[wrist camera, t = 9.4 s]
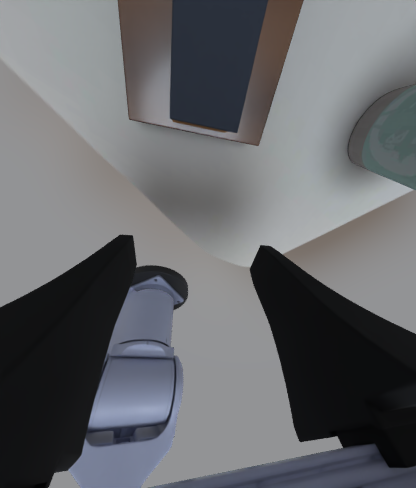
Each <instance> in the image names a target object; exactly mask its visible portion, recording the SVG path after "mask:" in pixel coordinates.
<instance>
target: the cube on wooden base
mask: <svg viewBox="0 0 416 488" xmlns="http://www.w3.org/2000/svg"><path fill="white" fill-rule="evenodd" d="M267 4H268V0H172V37H171V78H170V119H172V121H173V122H176V123H180V124H185V125H190V126H194V127H199V128H204V129H208V130H213V131H218V132H223V133H226V131H228V132H232V133H237V132H238V128H239V124H240V120H241V115H242V111H243V107H244V103H245V98H246V94H247V90H248V85H249V81H250V77H251V72H252V68H253V64H254V59H255V55H256V51H257V47H258V42H259V38H260V34H261V29H262V25H263V21H264V16H265V12H266V8H267Z"/></svg>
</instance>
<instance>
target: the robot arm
mask: <svg viewBox="0 0 416 488" xmlns="http://www.w3.org/2000/svg"><path fill="white" fill-rule="evenodd" d="M136 265H137V263H136V256H135V248H134V241H133V236H132V235H119V236H118V237H116V238H115V239H113V240H112V241H111V242H109V243H108V244H106V245H105V246H104V247H102V248H101V249H100V250H98V251H97V252H95V253H94V254H92V255H91V256H90V257H88V258H87V259H85V260H84V261H82V262H81V263H79V264H77V265H76V266H74V267H73V268H71V269H70V270H68V271H67V272H65V273H63V274H62V275H60V276H58V277H57V278H55V279H53V280H52V281H50V282H48V283H46V284H45V285H43V286H41V287H39V288H37V289H35V290H34V291H32V292H30V293H28V294H26V295H24V296H23V297H20V298H19V299H16V300H14V301H13V302H10V303H8V304H6V305H4V306H2V307H0V488H48V487H49V485H50V482H51V480H52V477H53V475H54V473H56V472H62V471H68V470H69V472H70V473H71V475H72V476H73V478H74V479H75V480H76V482H77V483H78V484H79V486H80V488H141V486H142V485H143V483H144V481H145V480H146V479H147V477H148V476H149V475H150V474H151V472H152V471H153V470H154V469H155V467H156V466H157V465H158V464H159V463H160V461H161V460H162V459H163V457H164V456H165V455H166V454H167V453H168V451H169V450H170V448H171V446H172V442H173V441H172V440H173V438H174V435H175V427H176V421H177V415H178V412H179V408H180V405H181V399H182V393H183V368H182V364H181V362H180V360H179V358H178V356H174V347H171V333H172V319H173V306H174V305H176V304H178V303H181V302H183V301H184V299H183V298H182V297H181V296H180V295H179V294H178V293H177V292H176V291H175V290H174V289H173V287H172V286H171V285H170V284H169V283H168V282H167V281H166V280H165V279H164V278H163V277H162V276H160V275H157V276H155V277H152V278H150V279H147V280H145V281H142V282H140V283H137V284H135V285H133V286H131V284H132V281H133V277H134V273H135V269H136ZM250 273H251V277H252V281H253V284H254V287H255V290H256V292H257V295H258V297H259V299H260V302H261V304H262V307H263V309H264V311H265V314H266V316H267V319H268V321H269V324H270V327H271V331H272V334H273V337H274V340H275V344H276V347H277V351H278V354H279V358H280V362H281V366H282V371H283V375H284V379H285V383H286V388H287V393H288V398H289V402H290V408H291V413H292V418H293V424H294V428H295V431H296V434H297V436H298V439H299V441H300V442H304V441H310V440H317V439H323V438H330V437H335V436H338V438H339V440H340V442H341V444H342V446H343V448H341V449H336V450H331V451H326V452H321V453H316V454H311V455H307V456H301V457H296V458H292V459H287V460H282V461H277V462H272V463H267V464H262V465H257V466H252V467H247V468H242V469H237V470H233V471H228V472H223V473H218V474H213V475H208V476H203V477H198V478H193V479H189V480H184V481H179V482H174V483H169V484H164V485H159V486H154V487H149V488H416V334H415V333H412V332H410V331H408V330H406V329H404V328H402V327H400V326H398V325H396V324H394V323H391V322H389V321H387V320H385V319H383V318H381V317H379V316H377V315H375V314H373V313H372V312H370V311H368V310H366V309H364V308H362V307H361V306H359V305H357V304H355V303H353V302H352V301H350V300H348V299H346V298H345V297H343V296H341V295H340V294H338V293H336V292H335V291H333V290H332V289H330V288H328V287H327V286H325V285H324V284H322V283H321V282H319V281H318V280H316V279H315V278H314V277H312V276H311V275H309V274H308V273H306V272H305V271H304V270H302V269H301V268H300V267H298V266H297V265H296V264H294V263H293V262H292V261H290V260H289V259H288V258H286V257H285V256H284V255H282V254H281V253H280V252H278V251H277V250H275V249H274V248H272V247H271V246H264V245H260V248H259V250H258V252H257V254H256V257H255V259H254V261H253V263H252V265H251V268H250Z"/></svg>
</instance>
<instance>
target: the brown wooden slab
mask: <svg viewBox="0 0 416 488" xmlns="http://www.w3.org/2000/svg"><path fill="white" fill-rule="evenodd" d="M302 4H303V0H268V4H267V8H266V12H265V16H264V21H263V25H262V29H261V34H260V38H259V42H258V47H257V51H256V55H255V59H254V64H253V68H252V72H251V77H250V81H249V85H248V90H247V94H246V98H245V103H244V107H243V111H242V115H241V120H240V124H239V128H238V132H237V133H232V132H228V131H226V133H223V132H218V131H213V130H208V129H204V128H199V127H194V126H190V125H185V124H180V123H176V122H173V121H172V119H170V78H171V37H172V0H118V8H119V19H120V30H121V40H122V51H123V61H124V72H125V83H126V93H127V104H128V115H129V119H130V120H134V121H139V122H144V123H149V124H153V125H158V126H163V127H168V128H173V129H178V130H183V131H187V132H192V133H197V134H202V135H207V136H212V137H217V138H222V139H226V140H231V141H236V142H241V143H246V144H251V145H256V146H259V143H260V140H261V136H262V133H263V130H264V127H265V123H266V120H267V117H268V114H269V111H270V107H271V104H272V101H273V98H274V94H275V91H276V88H277V85H278V81H279V78H280V75H281V72H282V68H283V65H284V62H285V59H286V55H287V52H288V49H289V46H290V42H291V39H292V36H293V33H294V30H295V26H296V23H297V20H298V17H299V13H300V10H301V7H302Z"/></svg>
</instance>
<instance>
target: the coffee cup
mask: <svg viewBox="0 0 416 488" xmlns="http://www.w3.org/2000/svg"><path fill="white" fill-rule="evenodd" d="M348 152H349V157H350V159H351V161H352V162H353V163H354V164H356V165H358V166H361V167H363V168H365V169H367V170H370V171H372V172H374V173H377V174H379V175H381V176H384V177H386V178H388V179H391V180H393V181H395V182H398V183H400V184H402V185H405V186H407V187H409V188H412V189H414V190H416V84H414V85H410V86H407V87H403V88H400V89H397V90H394V91H391V92H389V93H387V94H386V95H384V96H383V97H381V98H380V99H378V100H377V101H376V102H375V103H374V104H373V105H372V106H371V107H370V108H369V109H368V110H367V111H366V112H365V113H364V115H363V116H362V117H361V119H360V120H359V122H358V123H357V125H356V127H355V128H354V130H353V133H352V135H351V138H350V142H349V147H348Z"/></svg>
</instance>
